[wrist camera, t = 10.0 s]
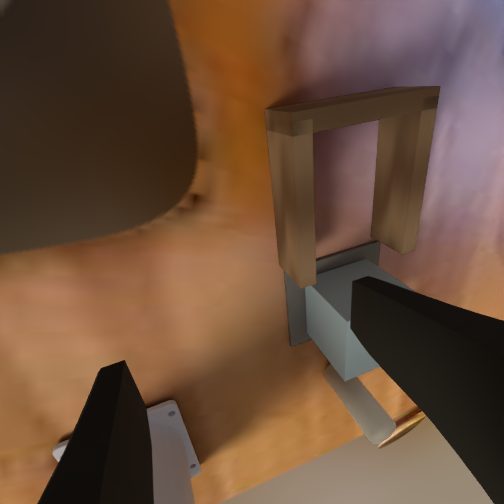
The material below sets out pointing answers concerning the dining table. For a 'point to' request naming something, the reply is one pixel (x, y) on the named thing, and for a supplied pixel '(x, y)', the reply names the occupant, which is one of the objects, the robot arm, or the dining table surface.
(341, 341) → the pull block
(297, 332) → the mat
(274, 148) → the wooden arch frame
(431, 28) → the dining table surface
